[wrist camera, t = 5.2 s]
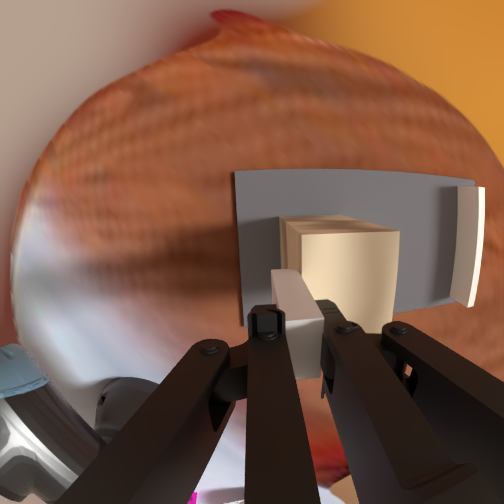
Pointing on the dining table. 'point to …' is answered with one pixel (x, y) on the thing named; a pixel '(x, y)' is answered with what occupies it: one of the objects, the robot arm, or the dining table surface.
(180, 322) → the dining table surface
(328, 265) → the beech block
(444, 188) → the gray ramp
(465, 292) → the stop rail
